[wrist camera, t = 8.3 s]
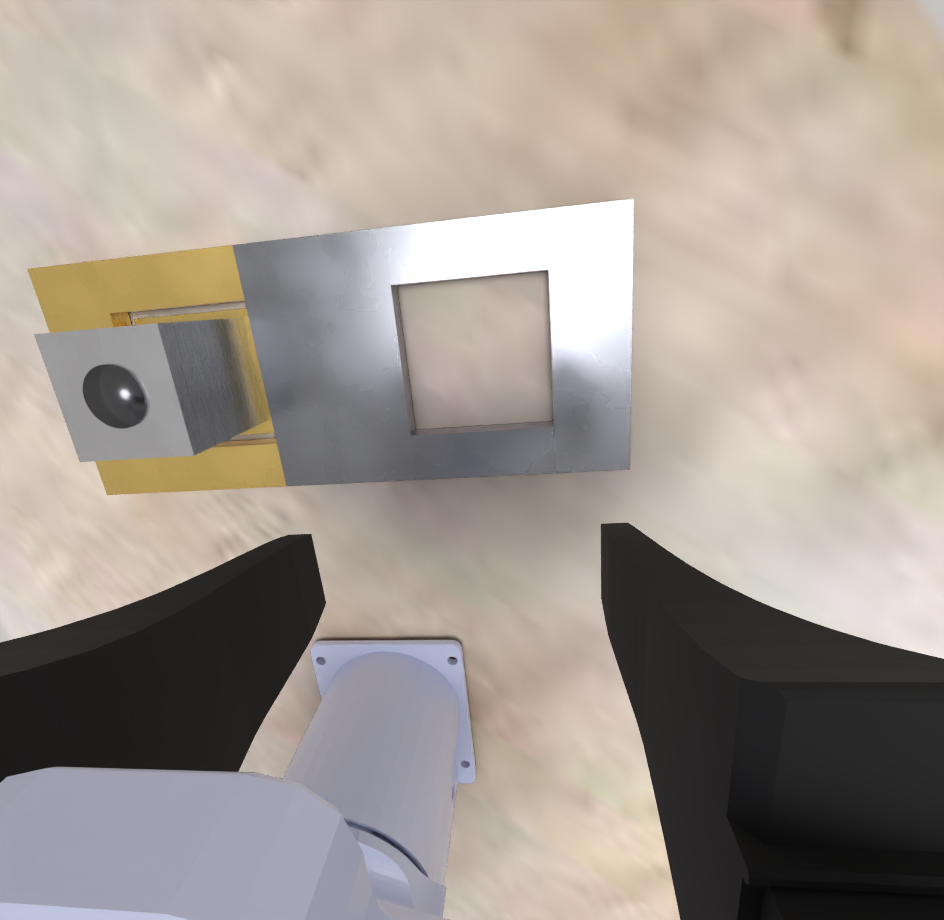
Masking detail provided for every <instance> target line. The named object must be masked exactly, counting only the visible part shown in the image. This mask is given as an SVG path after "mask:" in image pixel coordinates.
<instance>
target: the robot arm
mask: <svg viewBox="0 0 944 920" xmlns="http://www.w3.org/2000/svg"><path fill="white" fill-rule="evenodd" d="M601 599H602V604H603V610H604V615H605V621H606V626H607V631H608V635H609V639H610V642H611V645H612V648H613V651H614V654H615V657H616V660H617V663H618V666H619V669H620V672H621V675H622V678H623V681H624V684H625V687H626V690H627V693H628V696H629V699H630V702H631V705H632V708H633V711H634V714H635V717H636V720H637V723H638V727H639V730H640V734H641V737H642V741H643V745H644V749H645V754H646V758H647V762H648V767H649V771H650V776H651V780H652V785H653V789H654V794H655V798H656V803H657V808H658V812H659V817H660V822H661V826H662V831H663V836H664V840H665V845H666V850H667V855H668V860H669V865H670V870H671V875H672V880H673V885H674V890H675V895H676V899H677V904H678V909H679V914H680V919H681V920H944V659H942V658H937V657H933V656H929V655H925V654H921V653H916V652H912V651H908V650H904V649H900V648H895V647H891V646H887V645H883V644H880V643H876V642H873V641H869V640H866V639H863V638H859V637H856V636H853V635H849V634H846V633H843V632H839V631H836V630H833V629H830V628H827V627H824V626H821V625H818V624H815V623H812V622H809V621H806V620H804V619H801V618H799V617H796V616H793V615H791V614H788V613H786V612H783V611H780V610H778V609H775V608H773V607H770V606H768V605H766V604H763V603H761V602H759V601H756V600H754V599H752V598H750V597H748V596H746V595H744V594H742V593H740V592H738V591H735V590H733V589H731V588H729V587H727V586H725V585H723V584H721V583H720V582H718V581H716V580H714V579H712V578H711V577H709V576H707V575H705V574H704V573H702V572H700V571H699V570H697V569H695V568H693V567H692V566H690V565H689V564H687V563H685V562H684V561H682V560H681V559H679V558H678V557H676V556H675V555H673V554H672V553H670V552H669V551H667V550H666V549H664V548H663V547H662V546H660V545H659V544H657V543H656V542H655V541H653V540H652V539H650V538H649V537H648V536H646V535H645V534H643V533H642V532H641V531H639V530H638V529H636V528H635V527H634V526H632V525H630V524H629V523H610V524H601ZM325 604H326V601H325V596H324V592H323V587H322V582H321V578H320V573H319V568H318V564H317V559H316V554H315V550H314V545H313V540H312V536H311V534H300V535H287V536H284V537H280V538H278V539H275V540H273V541H270V542H268V543H266V544H264V545H261V546H259V547H257V548H255V549H253V550H251V551H249V552H246V553H244V554H242V555H240V556H238V557H236V558H234V559H232V560H230V561H228V562H226V563H224V564H222V565H220V566H218V567H215V568H213V569H211V570H209V571H207V572H205V573H202V574H200V575H198V576H196V577H194V578H191V579H189V580H187V581H185V582H183V583H180V584H178V585H176V586H174V587H172V588H169V589H167V590H164V591H162V592H160V593H157V594H155V595H152V596H150V597H147V598H145V599H142V600H139V601H137V602H134V603H131V604H129V605H126V606H123V607H120V608H118V609H115V610H112V611H109V612H106V613H103V614H99V615H96V616H93V617H90V618H87V619H84V620H80V621H77V622H74V623H71V624H68V625H64V626H61V627H58V628H55V629H51V630H47V631H44V632H40V633H36V634H33V635H29V636H25V637H21V638H17V639H13V640H9V641H5V642H1V643H0V920H448V919H445V918H443V910H444V902H445V894H446V887H445V886H444V882H445V874H446V867H447V859H448V852H449V844H450V837H451V829H452V822H453V814H454V807H455V799H456V792H457V784H458V783H464V784H468V783H472V782H474V781H475V779H476V765H475V756H474V747H473V739H472V730H471V721H470V713H469V704H468V695H467V687H466V678H465V669H464V661H463V652H462V646H461V644H460V643H459V642H457V641H455V640H349V641H316V642H315V643H314V644H313V646H312V647H311V649H310V653H311V657H312V662H313V666H314V670H315V674H316V679H317V683H318V687H319V691H320V696H321V702H320V704H319V706H318V708H317V710H316V712H315V714H314V716H313V718H312V720H311V722H310V724H309V726H308V728H307V730H306V732H305V734H304V736H303V738H302V740H301V742H300V744H299V746H298V748H297V750H296V752H295V754H294V756H293V758H292V760H291V762H290V764H289V766H288V768H287V770H286V772H285V774H284V776H283V778H282V779H280V778H276V777H272V776H267V775H263V774H258V773H254V772H238V771H239V769H240V767H241V764H242V762H243V760H244V758H245V756H246V754H247V752H248V749H249V747H250V745H251V743H252V741H253V739H254V737H255V735H256V733H257V731H258V729H259V727H260V726H261V724H262V722H263V720H264V718H265V716H266V715H267V713H268V711H269V710H270V708H271V706H272V705H273V703H274V701H275V700H276V698H277V696H278V695H279V693H280V691H281V690H282V688H283V686H284V685H285V683H286V681H287V680H288V678H289V676H290V675H291V673H292V671H293V670H294V668H295V666H296V665H297V663H298V661H299V659H300V658H301V656H302V654H303V652H304V651H305V649H306V647H307V646H308V644H309V642H310V640H311V638H312V636H313V634H314V632H315V629H316V627H317V625H318V623H319V620H320V617H321V615H322V612H323V610H324V607H325ZM320 657H323V658H324V659H325V660H324V659H321V658H320ZM449 657H455V658H457V659H451V658H449Z"/></svg>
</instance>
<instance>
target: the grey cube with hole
mask: <svg viewBox="0 0 944 920" xmlns="http://www.w3.org/2000/svg"><path fill="white" fill-rule="evenodd" d="M34 335H35V338H36V341H37V344H38V346H39V349H40V352H41V355H42V358H43V360H44V363H45V366H46V369H47V372H48V374H49V377H50V380H51V383H52V385H53V388H54V391H55V394H56V397H57V399H58V402H59V405H60V408H61V410H62V413H63V416H64V419H65V422H66V424H67V427H68V430H69V433H70V436H71V438H72V441H73V444H74V447H75V449H76V452H77V455H78V458H79V461H80V462H87V461H106V460H124V459H142V458H161V457H179V456H194V455H197V454H199V453H201V452H203V451H205V450H207V449H209V448H211V447H213V446H215V445H217V444H220V443H222V442H224V441H226V440H228V439H230V438H232V437H234V436H236V435H238V434H241V433H243V432H245V431H247V430H249V429H251V428H253V427H255V426H257V425H259V424H262V423H264V422H266V419H265V415H264V410H263V406H262V401H261V397H260V393H259V388H258V384H257V379H256V375H255V370H254V366H253V361H252V357H251V353H250V348H249V344H248V339H247V335H246V330H245V326H244V321H243V318H229V319H214V320H198V321H183V322H168V323H154V324H143V325H132V326H121V327H111V328H100V329H89V330H78V331H67V332H56V333H45V334H34Z"/></svg>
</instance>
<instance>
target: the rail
mask: <svg viewBox="0 0 944 920" xmlns="http://www.w3.org/2000/svg"><path fill="white" fill-rule="evenodd" d="M633 221H634V199H627V200H619V201H610V202H601V203H593V204H584V205H576V206H567V207H558V208H550V209H541V210H532V211H524V212H515V213H506V214H498V215H489V216H481V217H472V218H463V219H455V220H446V221H437V222H429V223H420V224H411V225H403V226H394V227H386V228H377V229H368V230H360V231H351V232H342V233H334V234H325V235H316V236H308V237H299V238H291V239H282V240H273V241H265V242H256V243H247V244H239V245H230V246H221V247H213V248H204V249H195V250H187V251H178V252H170V253H161V254H152V255H144V256H135V257H126V258H118V259H109V260H100V261H92V262H83V263H75V264H66V265H57V266H49V267H40V268H31V269H28V272H29V274H30V277H31V280H32V283H33V286H34V289H35V291H36V294H37V297H38V300H39V303H40V306H41V308H42V311H43V314H44V317H45V320H46V323H47V326H48V328H49V331H50V333H56V332H67V331H78V330H89V329H100V328H111V327H121V326H132V324H131V320H130V317H129V314H128V313H130V312H140V311H150V310H160V309H170V308H180V307H190V306H200V305H210V304H220V303H230V302H240V301H245V304H246V308H245V309H234V310H224V311H214V312H204V313H194V314H183V315H173V316H163V317H153V318H143V319H134V322H135V325H143V324H154V323H168V322H183V321H198V320H214V319H229V318H243V321H244V326H245V330H246V335H247V339H248V344H249V348H250V353H251V357H252V361H253V366H254V370H255V375H256V379H257V384H258V388H259V393H260V397H261V401H262V406H263V410H264V415H265V419H266V422H264V423H262V424H259V425H257V426H255V427H253V428H251V429H249V430H247V431H245V432H243V433H241V434H238V435H247V434H263V433H275V437H276V438H272V439H255V440H239V441H224V442H222V443H220V444H217V445H215V446H213V447H211V448H209V449H207V450H205V451H203V452H201V453H199V454H197V455H194V456H179V457H161V458H142V459H124V460H106V461H95V462H96V465H97V467H98V470H99V473H100V476H101V479H102V482H103V485H104V487H105V490H106V493H107V495H117V494H138V493H158V492H179V491H199V490H220V489H240V488H261V487H281V486H302V485H322V484H343V483H363V482H384V481H404V480H425V479H445V478H466V477H486V476H507V475H527V474H548V473H568V472H589V471H609V470H630V423H631V355H632V288H633ZM539 271H547V273H548V300H549V327H550V354H551V382H552V409H553V421H546V422H530V423H514V424H498V425H482V426H465V427H449V428H433V429H417V430H416V429H415V421H414V413H413V405H412V398H411V390H410V382H409V374H408V367H407V359H406V351H405V344H404V336H403V328H402V320H401V313H400V305H399V297H398V289H397V286H399V285H409V284H419V283H429V282H439V281H449V280H459V279H469V278H479V277H489V276H499V275H509V274H519V273H529V272H539Z"/></svg>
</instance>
